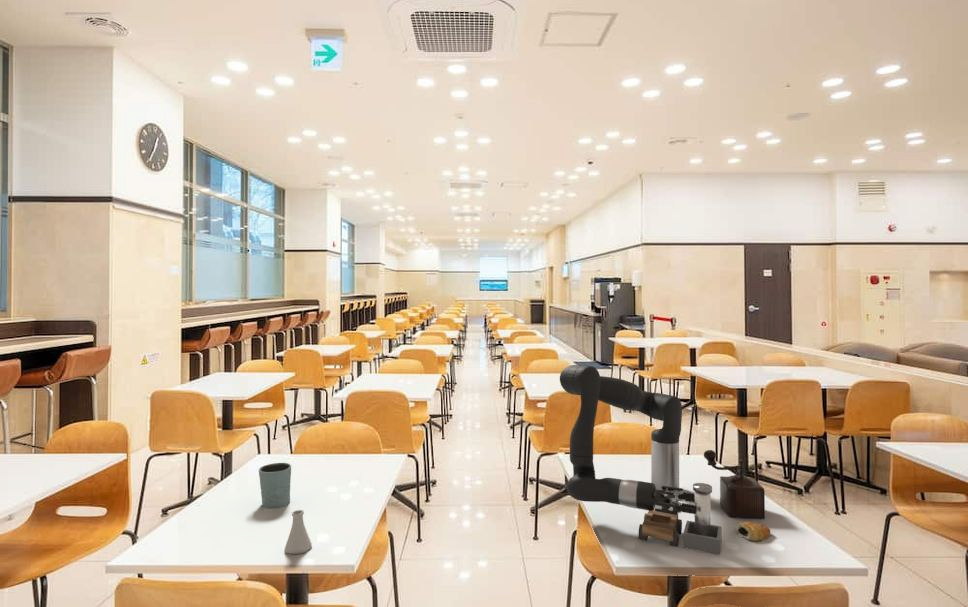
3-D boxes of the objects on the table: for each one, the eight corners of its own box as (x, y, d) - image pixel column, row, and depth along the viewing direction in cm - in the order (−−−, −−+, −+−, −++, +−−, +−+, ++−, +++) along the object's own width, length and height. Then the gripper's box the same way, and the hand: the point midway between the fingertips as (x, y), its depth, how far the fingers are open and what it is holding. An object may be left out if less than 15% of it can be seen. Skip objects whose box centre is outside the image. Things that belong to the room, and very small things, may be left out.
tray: (687, 534, 150) (686, 520, 150) (721, 540, 146) (721, 526, 146) (683, 548, 142) (683, 533, 142) (720, 555, 138) (720, 539, 138)
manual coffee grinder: (752, 505, 171) (752, 449, 170) (765, 519, 160) (765, 460, 160) (702, 503, 173) (701, 448, 173) (711, 517, 162) (711, 458, 162)
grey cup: (280, 510, 169) (280, 473, 169) (252, 508, 171) (251, 471, 171) (297, 498, 179) (297, 463, 179) (271, 496, 181) (270, 461, 181)
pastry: (757, 528, 154) (757, 515, 154) (777, 538, 148) (777, 525, 148) (732, 533, 151) (732, 520, 151) (752, 544, 145) (752, 530, 145)
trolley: (645, 521, 159) (645, 505, 159) (682, 528, 154) (682, 511, 154) (636, 541, 146) (636, 523, 146) (676, 549, 142) (676, 530, 141)
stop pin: (694, 535, 147) (693, 481, 147) (712, 538, 145) (712, 484, 145) (692, 542, 143) (692, 487, 143) (711, 546, 141) (711, 490, 141)
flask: (315, 542, 147) (315, 506, 147) (307, 554, 140) (307, 517, 140) (289, 542, 147) (288, 507, 147) (280, 555, 140) (279, 517, 140)
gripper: (632, 489, 145) (695, 499, 138) (641, 473, 158) (700, 482, 151) (632, 516, 146) (695, 528, 138) (641, 498, 158) (700, 508, 151)
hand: (697, 504), depth 145 cm, fingers open, 8 cm apart
